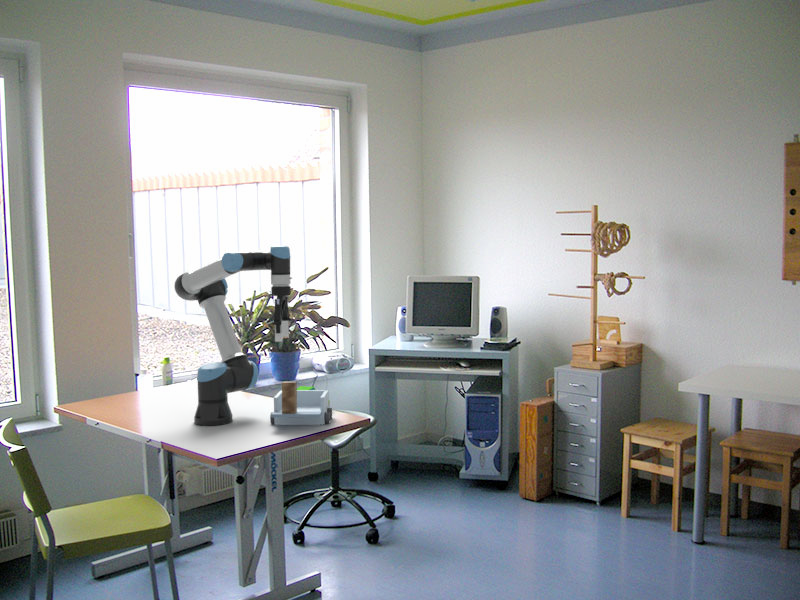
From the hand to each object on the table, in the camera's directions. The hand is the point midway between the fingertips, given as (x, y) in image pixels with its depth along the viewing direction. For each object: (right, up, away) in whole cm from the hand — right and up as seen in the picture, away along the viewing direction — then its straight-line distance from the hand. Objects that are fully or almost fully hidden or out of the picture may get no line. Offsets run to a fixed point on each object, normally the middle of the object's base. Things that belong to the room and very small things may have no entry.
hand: (282, 339), depth 302 cm
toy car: (+9, -33, +27) cm, 43 cm away
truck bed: (+7, -34, +10) cm, 36 cm away
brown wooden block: (+3, -29, -2) cm, 29 cm away
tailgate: (+6, -29, +2) cm, 30 cm away
